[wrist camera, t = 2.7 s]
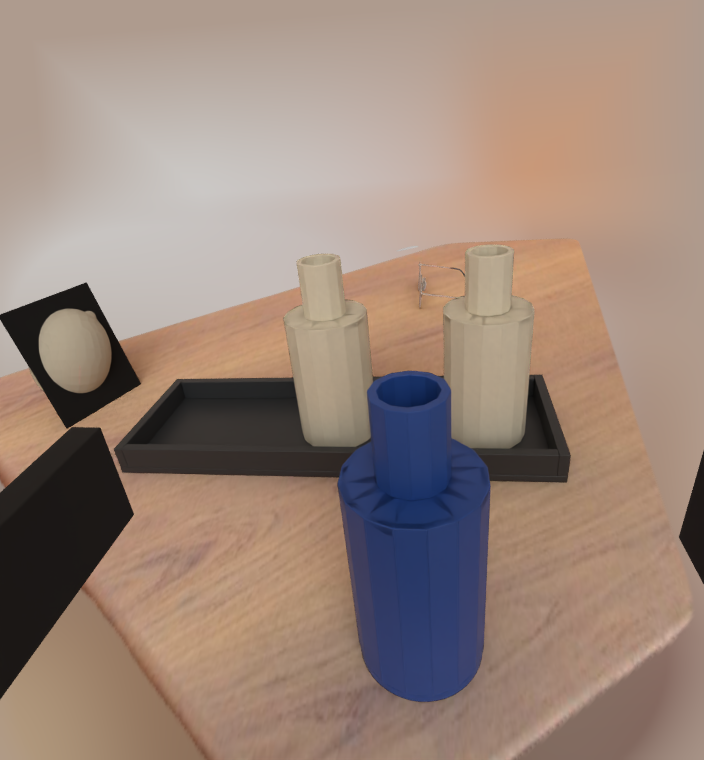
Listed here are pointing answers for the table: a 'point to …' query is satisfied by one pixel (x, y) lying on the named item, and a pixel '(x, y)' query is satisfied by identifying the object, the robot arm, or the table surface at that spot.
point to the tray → (297, 435)
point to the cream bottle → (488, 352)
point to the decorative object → (71, 352)
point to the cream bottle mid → (329, 356)
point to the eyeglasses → (423, 284)
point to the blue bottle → (416, 540)
